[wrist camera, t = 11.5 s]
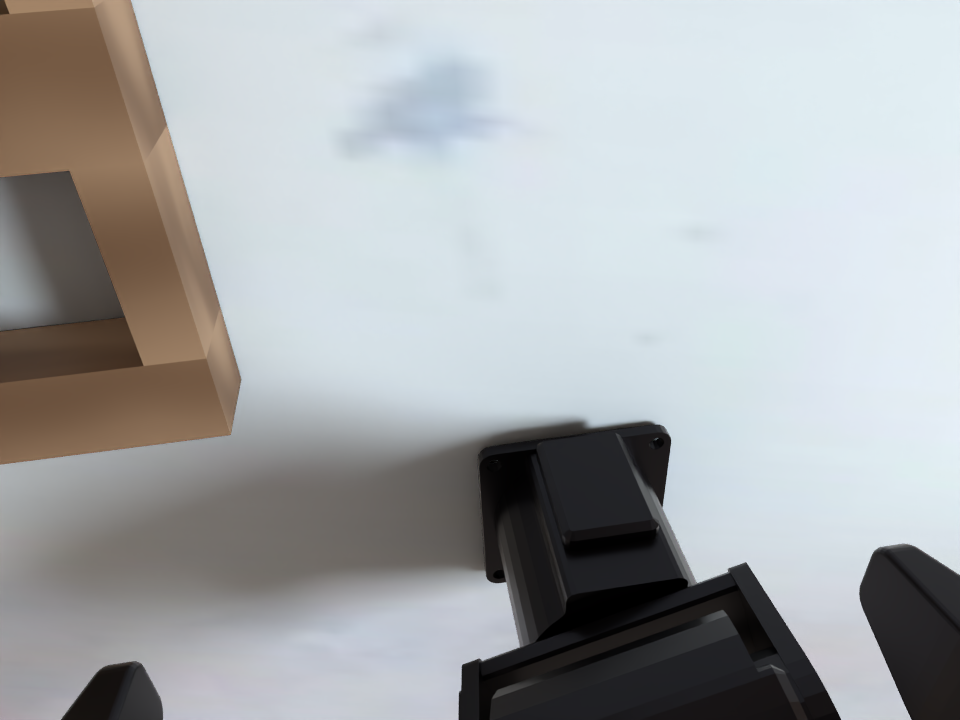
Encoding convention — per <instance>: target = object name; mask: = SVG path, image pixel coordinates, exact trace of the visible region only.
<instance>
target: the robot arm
mask: <svg viewBox="0 0 960 720" xmlns="http://www.w3.org/2000/svg"><path fill="white" fill-rule="evenodd" d="M656 438H658V439H657V440H656V441H653V442H651V441H652V440H653V439H656ZM670 446H671V437H670V436H669V434H668V432H667V430H666V429H665V427H664V426H661V425H648V426H640V427H633V428H625V429H618V430H611V431H603V432H596V433H588V434H581V435H573V436H566V437H558V438H551V439H543V440H536V441H528V442H521V443H514V444H506V445H499V446H491V447H488V448H485V449H484V450H482V451H481V452H480V454H479V455H478V459H477V461H478V476H479V490H480V505H481V519H482V534H483V549H484V563H485V571H486V577H487V579H488V580H489V581H490V582H493V583H504V582H506V583H507V587H508V592H509V597H510V601H511V606H512V611H513V616H514V620H515V625H516V630H517V635H518V639H519V644H520V648H517V649H514V650H511V651H509V652H506V653H503V654H500V655H497V656H495V657H492V658H489V659H486V660H484V661H481V659H477V660H474V661H471V662H469V663H466V664H463V665H462V686H461V691H460V692H459V720H841V718H840V716H839V714H838V712H837V710H836V708H835V706H834V704H833V702H832V700H831V698H830V696H829V694H828V693H827V691H826V689H825V687H824V685H823V683H822V682H821V680H820V678H819V676H818V674H817V673H816V671H815V669H814V668H813V666H812V664H811V663H810V661H809V659H808V658H807V656H806V655H805V653H804V651H803V650H802V648H801V647H800V645H799V644H798V642H797V641H796V639H795V637H794V636H793V634H792V633H791V631H790V630H789V628H788V627H787V625H786V623H785V622H784V620H783V619H782V617H781V616H780V614H779V613H778V611H777V610H776V608H775V606H774V605H773V603H772V602H771V600H770V599H769V597H768V596H767V594H766V592H765V591H764V589H763V588H762V586H761V585H760V583H759V582H758V580H757V578H756V577H755V575H754V574H753V572H752V571H751V569H750V568H749V566H748V564H747V563H746V562H745V563H743V564H740V565H737V566H734V567H732V568H729V569H728V572H727V573H725V574H722V575H719V576H716V577H714V578H711V579H708V580H705V581H702V582H700V583H697V582H696V580H695V578H694V576H693V574H692V571H691V569H690V567H689V565H688V563H687V561H686V558H685V556H684V554H683V552H682V550H681V548H680V545H679V543H678V541H677V539H676V537H675V535H674V532H673V530H672V528H671V526H670V524H669V522H668V520H667V517H666V515H665V513H664V511H663V509H662V507H663V499H664V492H665V484H666V477H667V469H668V462H669V454H670ZM493 460H498V461H497V462H495V463H489V462H490V461H493ZM859 595H860V601H861V605H862V608H863V610H864V613H865V615H866V617H867V619H868V622H869V624H870V626H871V629H872V631H873V633H874V635H875V638H876V640H877V642H878V645H879V647H880V649H881V652H882V654H883V656H884V658H885V661H886V663H887V665H888V668H889V670H890V672H891V675H892V677H893V679H894V681H895V684H896V686H897V688H898V691H899V693H900V695H901V697H902V700H903V702H904V704H905V706H906V709H907V711H908V713H909V715H910V717H911V719H912V720H960V575H959V574H957V573H956V572H954V571H953V570H951V569H950V568H948V567H947V566H945V565H943V564H942V563H940V562H939V561H937V560H936V559H934V558H933V557H931V556H929V555H928V554H926V553H925V552H923V551H922V550H920V549H918V548H917V547H915V546H912V545H909V544H898V545H891V546H885V547H880V548H878V549H876V550H875V551H874V552H873V554H872V556H871V559H870V562H869V564H868V567H867V569H866V572H865V575H864V577H863V580H862V582H861V585H860V592H859ZM61 720H163V708H162V702H161V699H160V696H159V695H158V693H157V691H156V689H155V687H154V685H153V683H152V681H151V680H150V678H149V676H148V674H147V672H146V670H145V668H144V667H143V665H142V664H140V663H139V662H137V661H133V662H126V663H119V664H113V665H108V666H105V667H103V668H102V669H100V670H99V671H98V672H97V673H96V674H95V675H94V676H93V678H92V679H91V680H90V682H89V683H88V684H87V686H86V687H85V688H84V690H83V691H82V692H81V694H80V695H79V696H78V698H77V699H76V700H75V702H74V703H73V704H72V706H71V707H70V708H69V710H68V711H67V712H66V714H65V715H64V716H63V718H62V719H61Z"/></svg>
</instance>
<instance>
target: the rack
mask: <svg viewBox="0 0 960 720" xmlns="http://www.w3.org/2000/svg"><path fill="white" fill-rule="evenodd" d="M61 171H70V174H71V176H72V179H73V182H74V184H75V187H76V189H77V192H78V195H79V197H80V200H81V203H82V205H83V208H84V210H85V213H86V216H87V218H88V221H89V224H90V226H91V229H92V231H93V234H94V237H95V239H96V242H97V245H98V247H99V250H100V252H101V255H102V258H103V260H104V263H105V266H106V268H107V271H108V273H109V276H110V279H111V281H112V284H113V287H114V289H115V292H116V294H117V297H118V300H119V302H120V305H121V308H122V310H123V313H124V315H125V317H123V318H114V319H106V320H97V321H88V322H79V323H71V324H62V325H53V326H44V327H35V328H27V329H18V330H9V331H0V465H1V464H9V463H16V462H24V461H32V460H40V459H47V458H55V457H63V456H71V455H78V454H86V453H94V452H102V451H110V450H117V449H125V448H133V447H141V446H148V445H156V444H164V443H172V442H179V441H187V440H195V439H203V438H210V437H218V436H226V435H231V430H232V425H233V420H234V415H235V409H236V404H237V399H238V394H239V388H240V383H241V377H240V373H239V370H238V367H237V363H236V360H235V356H234V353H233V349H232V346H231V343H230V339H229V336H228V332H227V329H226V325H225V322H224V319H223V315H222V312H221V308H220V305H219V301H218V298H217V295H216V291H215V288H214V284H213V281H212V277H211V274H210V271H209V267H208V264H207V260H206V257H205V253H204V250H203V247H202V243H201V240H200V236H199V233H198V229H197V226H196V223H195V219H194V216H193V212H192V209H191V205H190V202H189V199H188V195H187V192H186V188H185V185H184V181H183V178H182V175H181V171H180V168H179V164H178V161H177V157H176V154H175V151H174V147H173V144H172V140H171V137H170V133H169V130H168V127H167V123H166V120H165V116H164V113H163V109H162V106H161V103H160V99H159V96H158V92H157V89H156V85H155V82H154V79H153V75H152V72H151V68H150V65H149V61H148V58H147V55H146V51H145V48H144V44H143V41H142V37H141V34H140V31H139V27H138V24H137V20H136V17H135V13H134V10H133V7H132V3H131V0H0V177H9V176H19V175H30V174H40V173H50V172H61Z"/></svg>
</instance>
